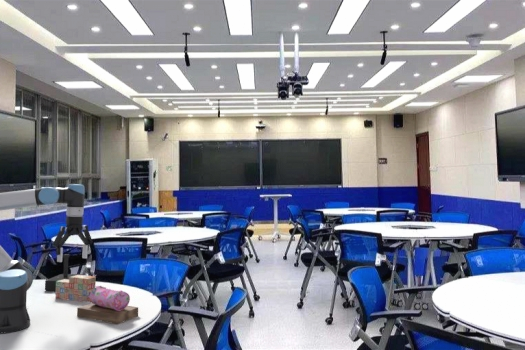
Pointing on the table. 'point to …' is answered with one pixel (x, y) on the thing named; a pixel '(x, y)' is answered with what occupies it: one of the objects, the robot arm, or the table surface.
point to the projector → (59, 276)
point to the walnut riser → (107, 313)
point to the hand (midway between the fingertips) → (72, 260)
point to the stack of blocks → (75, 287)
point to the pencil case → (109, 298)
